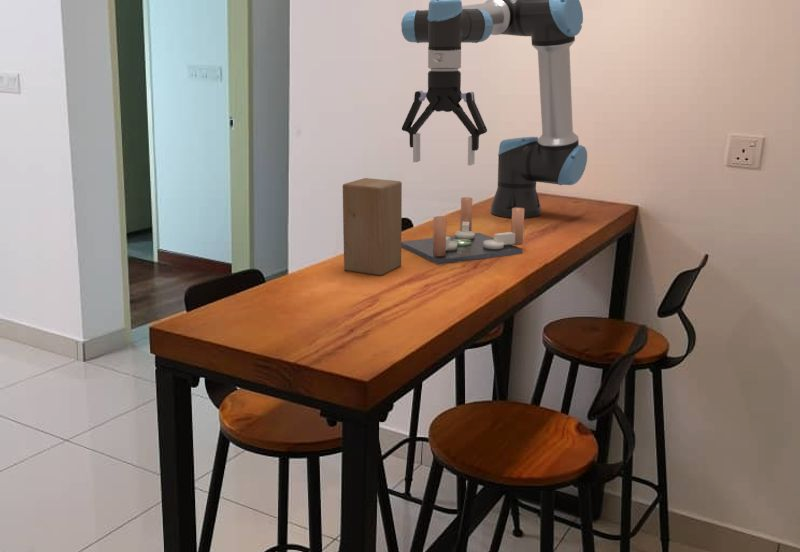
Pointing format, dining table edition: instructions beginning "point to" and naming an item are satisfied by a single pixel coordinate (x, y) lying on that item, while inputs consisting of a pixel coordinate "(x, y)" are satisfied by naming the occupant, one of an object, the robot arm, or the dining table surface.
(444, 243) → the knob
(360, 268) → the wooden block
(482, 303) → the dining table surface
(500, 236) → the knob
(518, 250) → the base plate
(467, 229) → the knob
